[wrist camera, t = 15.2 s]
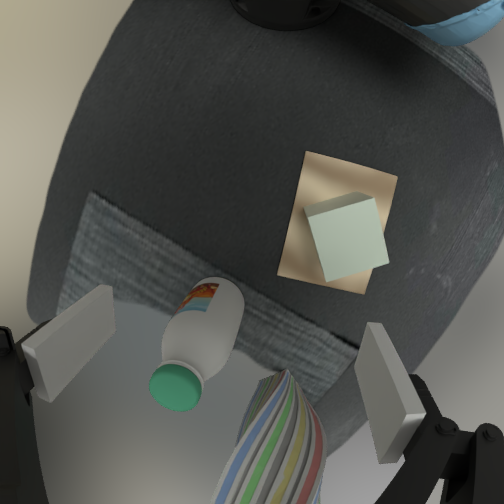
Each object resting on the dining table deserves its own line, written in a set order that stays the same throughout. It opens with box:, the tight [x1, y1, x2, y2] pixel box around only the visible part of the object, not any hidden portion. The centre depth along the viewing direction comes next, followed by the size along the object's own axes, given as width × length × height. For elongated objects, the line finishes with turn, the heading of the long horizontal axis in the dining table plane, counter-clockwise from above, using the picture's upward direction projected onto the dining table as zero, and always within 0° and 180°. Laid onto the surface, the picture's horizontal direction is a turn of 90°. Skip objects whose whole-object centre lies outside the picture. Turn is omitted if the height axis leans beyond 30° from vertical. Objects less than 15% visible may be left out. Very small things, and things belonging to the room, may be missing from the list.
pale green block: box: [303, 191, 389, 282], centre depth 35 cm, size 7×7×8 cm
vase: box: [210, 369, 327, 504], centre depth 32 cm, size 14×14×30 cm
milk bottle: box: [149, 277, 245, 411], centre depth 34 cm, size 8×8×20 cm
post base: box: [277, 151, 398, 294], centre depth 36 cm, size 16×12×6 cm
